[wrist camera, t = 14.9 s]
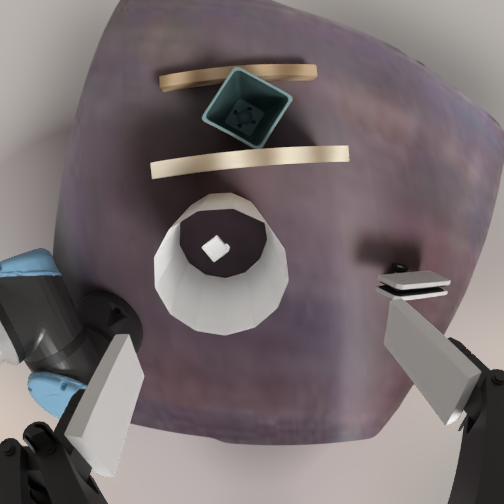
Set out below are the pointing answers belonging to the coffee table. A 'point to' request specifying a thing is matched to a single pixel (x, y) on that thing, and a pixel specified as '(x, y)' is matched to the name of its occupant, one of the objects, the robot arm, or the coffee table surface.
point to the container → (217, 288)
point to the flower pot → (240, 99)
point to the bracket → (411, 284)
